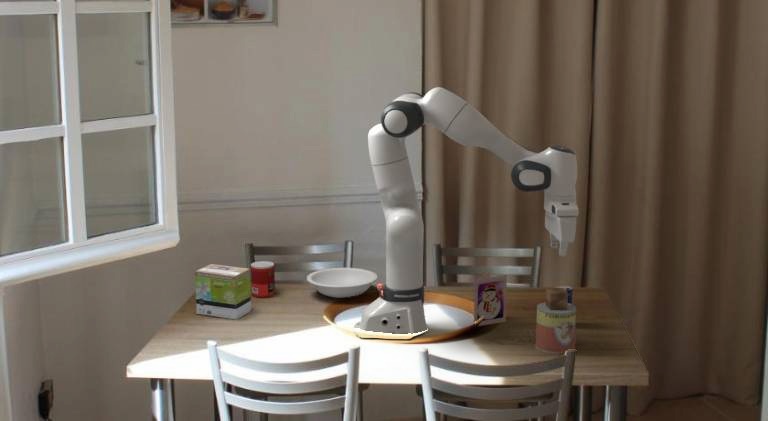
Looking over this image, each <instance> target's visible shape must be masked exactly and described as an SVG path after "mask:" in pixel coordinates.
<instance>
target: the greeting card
mask: <svg viewBox="0 0 768 421" xmlns="http://www.w3.org/2000/svg"><path fill="white" fill-rule="evenodd" d="M507 278H508V275H507V274H505V275H504V274H503V275H499V276H491V271H488V272H485V273H484V274H482V275H480V276H479V277H477V278H475V279H474V298H473V299H474V300H473V302H474V303H473V304H474V305H473V307H474V308H473V310H474V312H473V314H474V315H473V323H474V322H475V321H477V320H478V319H479V318H481V317H482V316H484V318H483V320H482V322H481V323H480V324H479V326H478V327H482V326H486V325H494V324H499V323H505V322H507V287H508V286H507Z"/></svg>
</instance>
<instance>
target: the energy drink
mask: <svg viewBox="0 0 768 421" xmlns="http://www.w3.org/2000/svg"><path fill="white" fill-rule="evenodd" d="M555 288H564V289H565V290H566V291H567V292H568V303H570V304H572V305H573V287H572V286H569V285H557V286H555Z"/></svg>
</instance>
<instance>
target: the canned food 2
mask: <svg viewBox="0 0 768 421" xmlns="http://www.w3.org/2000/svg"><path fill="white" fill-rule="evenodd" d="M576 317H577V306H576V305H574V304H573V303H572V304H570V303H567V310H550V309H549V308H548V307H547V306H546V301H544V302H540V303H537V305H536V325H535V326H536V330H535V332H536V335H535V348H536V349H537V350H539V351H541V352H543V353H549V354H550V353H551V354H565V353H564V352H565V351H566V350H568V349H573V348H575V349H576V322H577V321H576V320H577V318H576Z"/></svg>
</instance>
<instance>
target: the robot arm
mask: <svg viewBox="0 0 768 421" xmlns="http://www.w3.org/2000/svg"><path fill="white" fill-rule="evenodd" d="M391 101H392V102H390V103H388V104H387V105H386V106H385V107H384V109H383V110H382V112H381V117H380V123H378V124H376V125H374V126H373V127H372V128H370V130H369V131H368V134H367V145H368V154H369V160H370V164H371V169H372V172H373V177H374V181H375V185H376V190H377V193H378V197H379V200H380V203H381V209H382V211H383V215H384V216H383V217H384V220H385V276H386V277H385V284H382V283H378V284H377V286H376V288H377V290H378V291H379V293H378V294H379V297H377V299H375V300H374V301H372V302H371V303H369V304H368V305H367V306H365V307H364V309H363V311H362V314H361V318H360V321H358V322H356V323H355V324H354V326H353V329H354V328H360V329H362V330H365V331H373V332H383V333H392V334H408V333H411V334H413V333H418V332H422V331H425V330H427V327H428V323H427V321H426V316H425V307H424V303H425V298H426V297H425V294H426V293H425V292H426V291H425V286H424V282H423V280H424V279H423V277H424V276H423V275H424V273H423V272H424V270H423V269H424V268H423V267H424V265H423V264H424V262H423V261H424V260H423V259H424V258H423V257H424V235H425V234H424V232H425V230H424V227H425V226H424V220H423V217H422V211H421V207H420V203H419V199H418V194H417V190H416V189H417V188H416V186H415V181H414V177H413V173H412V169H411V164H410V160H409V156H408V151H407V147H406V138H407V137H409V136H411V135H412V134H414V133H416V132H418V131H419V130H420V129H421V128H422V127H423V126H424V125H431V126H433V127H435V128H436V129H437V130H438V131H440V132H441V133H443V134H444V135H445V136H446V137H448V138H449V139H451V140H452V141H454V142H456V143H457V144H460V145H462V146H465V147H476V148H477V147H478V148H483V149H485V150H488V151H491V152H492V153H494V155H496V156H498V158H500V159H502V160H503V161H505V162H506V163H507V164H509V165H510V166H512V169H511V174H510V178H511V182H512V184H513V185H514V187H516V189H518V190H519V191H522V192H525V193H532V192H538V191H544V202H543V210H545V214H544V215H545V217H544V228H545V229H546V230H547V231H548V232H549V238H550V247H551V248H552V249H558V254H559V256H560V257H566V256H567V250H568V247H569V244H573V243H574V242H575V238H576V231H577V216H579V213H580V209H579V206H578V205H577V191H576V183H577V179H578V161H577V156H576V153H575V152H574V151H573V150H572V149H571V148H569V147H565V146H561V145H550V146H549V147H547V148H546V149H544V150H542V151H541V152H540V151H538V150H534V149H533V150H532V149H529V148H526V147H525V146H522V145H521V144H519V143H518V142H517V141H516V140H514V139H512V138H511V137H509V136H508V135H507V134H505V133H504V132H503V131H501V130H500V129H498V128H497V127H496V126H495V125H494V124H493V123H491V121H489V120H488V118H486V117H485V116H484V115H483V114H482V113H481V112H479V110H478V109H476V108H475V107H474V106H473V105H471V104H470V103H469V102H468V101H466V100H465V99H463V98H462V97H460V96H458V95H457V94H456V93H454V92H452V91H450V90H448V89H446V88H444V87H439V86H437V87H434V88H431V89H430V90H429V91H427V93H426V94H425V95H423V94H421V93H419V92H411V91H410V92H406V93H404V94H402V95H399V96H398V97H396V98H394V99H393V100H391Z"/></svg>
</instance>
